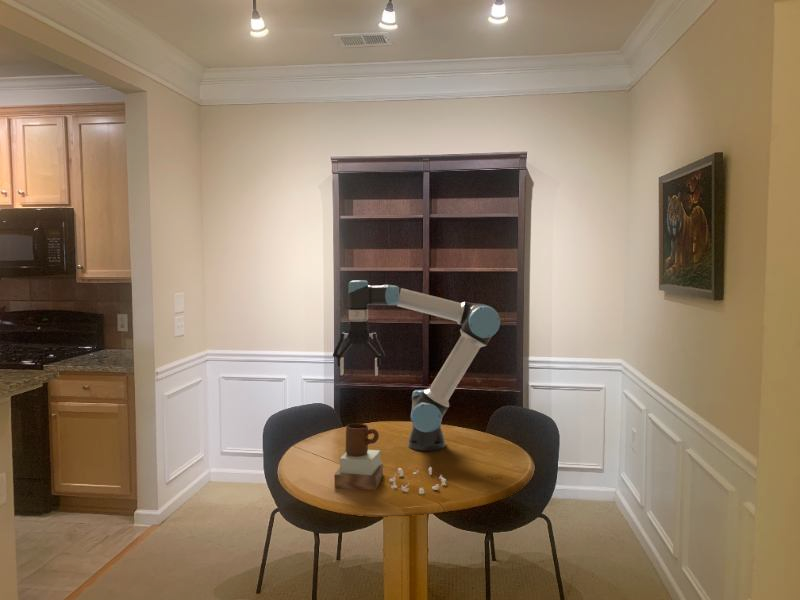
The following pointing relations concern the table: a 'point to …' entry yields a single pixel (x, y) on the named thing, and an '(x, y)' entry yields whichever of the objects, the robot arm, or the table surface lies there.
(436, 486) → the game piece set
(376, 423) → the table surface
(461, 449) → the table surface
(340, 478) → the base block
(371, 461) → the top block
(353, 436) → the mug
